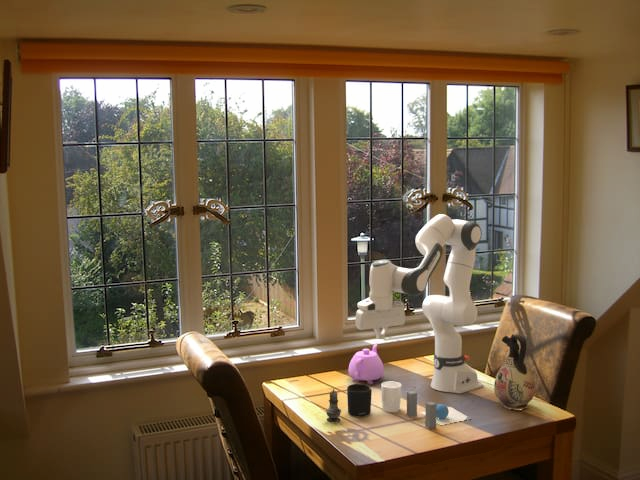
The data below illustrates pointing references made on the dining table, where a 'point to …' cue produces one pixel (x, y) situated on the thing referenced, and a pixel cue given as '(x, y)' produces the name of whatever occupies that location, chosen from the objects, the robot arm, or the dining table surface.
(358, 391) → the pen holder
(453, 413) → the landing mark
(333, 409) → the grey chess piece
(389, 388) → the white cup
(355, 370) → the teapot
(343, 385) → the dining table surface
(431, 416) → the post
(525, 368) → the ceramic jug
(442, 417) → the ball
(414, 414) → the post
